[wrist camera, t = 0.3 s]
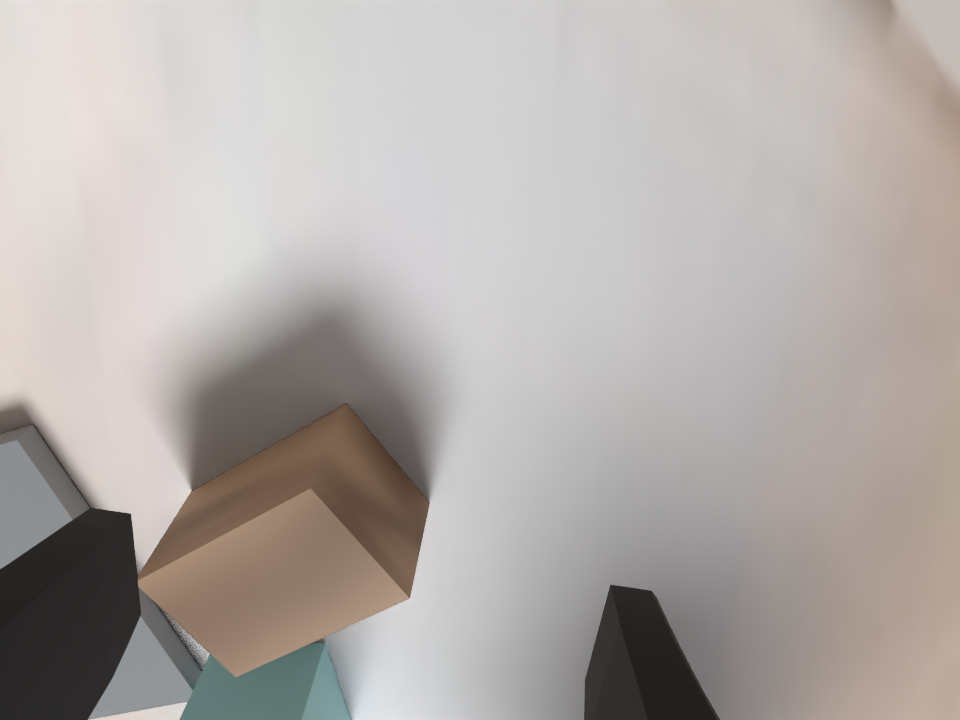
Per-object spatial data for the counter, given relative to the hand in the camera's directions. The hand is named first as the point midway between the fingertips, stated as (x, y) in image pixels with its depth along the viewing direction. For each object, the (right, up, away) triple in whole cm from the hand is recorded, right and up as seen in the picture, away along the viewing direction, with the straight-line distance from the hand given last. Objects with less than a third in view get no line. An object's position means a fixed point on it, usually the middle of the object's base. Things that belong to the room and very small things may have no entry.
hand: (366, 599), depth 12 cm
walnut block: (-3, 0, +12) cm, 13 cm away
